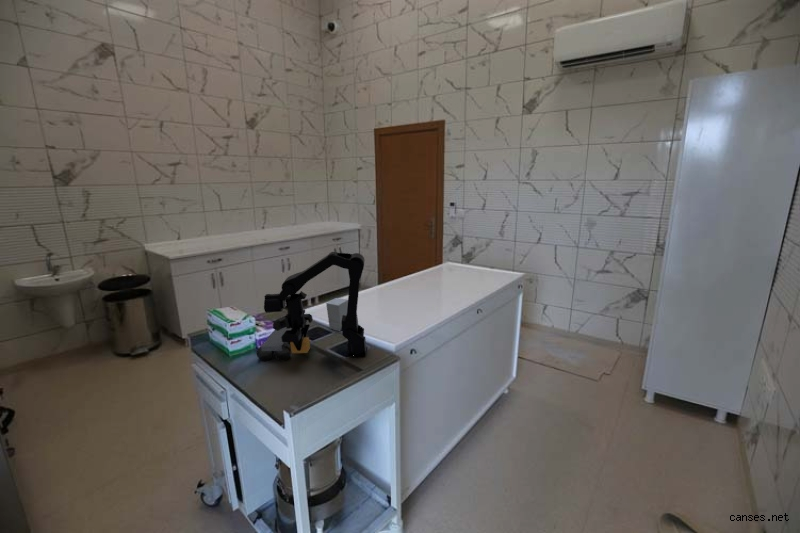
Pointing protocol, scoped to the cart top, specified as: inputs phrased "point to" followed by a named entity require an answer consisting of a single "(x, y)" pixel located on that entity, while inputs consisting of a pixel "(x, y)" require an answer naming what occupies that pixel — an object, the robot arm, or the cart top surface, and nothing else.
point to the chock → (304, 347)
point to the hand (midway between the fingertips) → (300, 347)
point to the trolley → (275, 347)
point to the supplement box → (336, 312)
